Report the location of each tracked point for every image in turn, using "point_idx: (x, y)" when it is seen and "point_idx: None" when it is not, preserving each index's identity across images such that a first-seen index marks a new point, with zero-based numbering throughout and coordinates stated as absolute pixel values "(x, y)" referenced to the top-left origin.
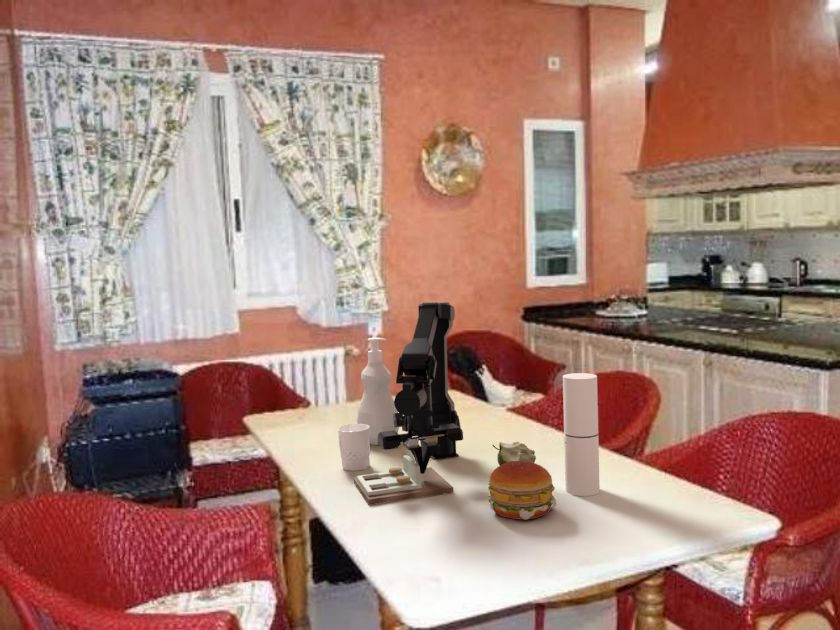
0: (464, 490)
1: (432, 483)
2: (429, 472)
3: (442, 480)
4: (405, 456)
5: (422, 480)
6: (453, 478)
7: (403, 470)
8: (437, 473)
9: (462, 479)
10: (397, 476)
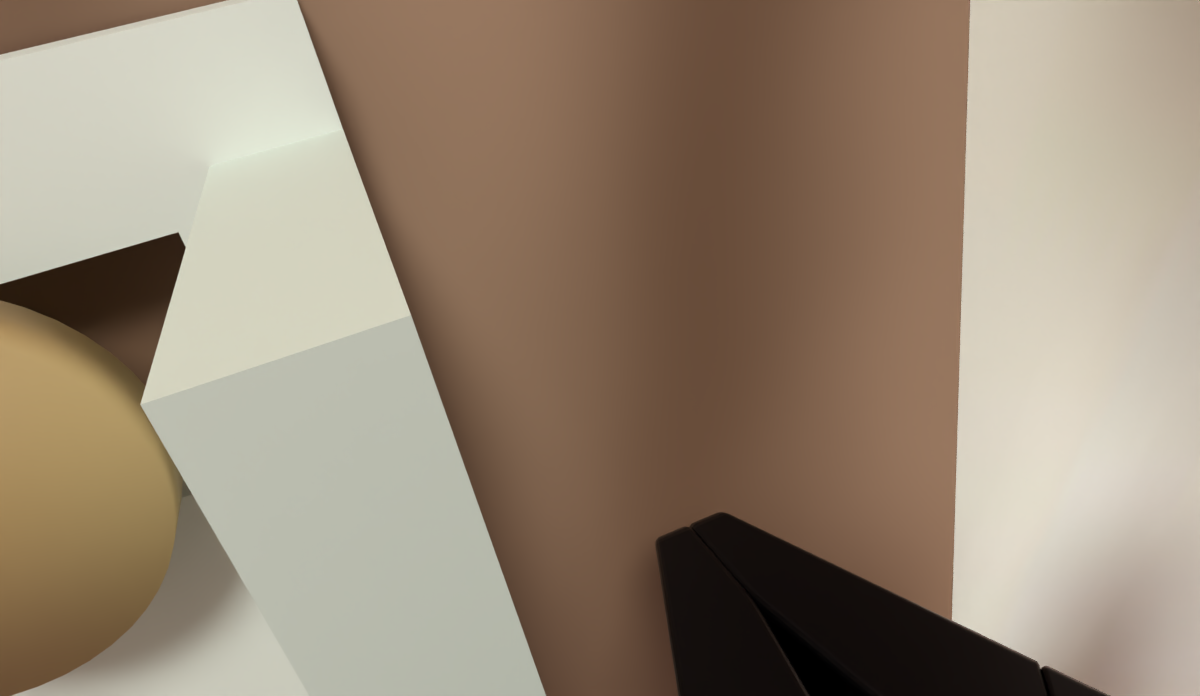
0: (1020, 598)
1: None
2: (838, 55)
3: (916, 512)
4: (317, 573)
5: (635, 524)
6: (1089, 161)
7: (185, 110)
8: (955, 154)
9: (1162, 225)
10: None
